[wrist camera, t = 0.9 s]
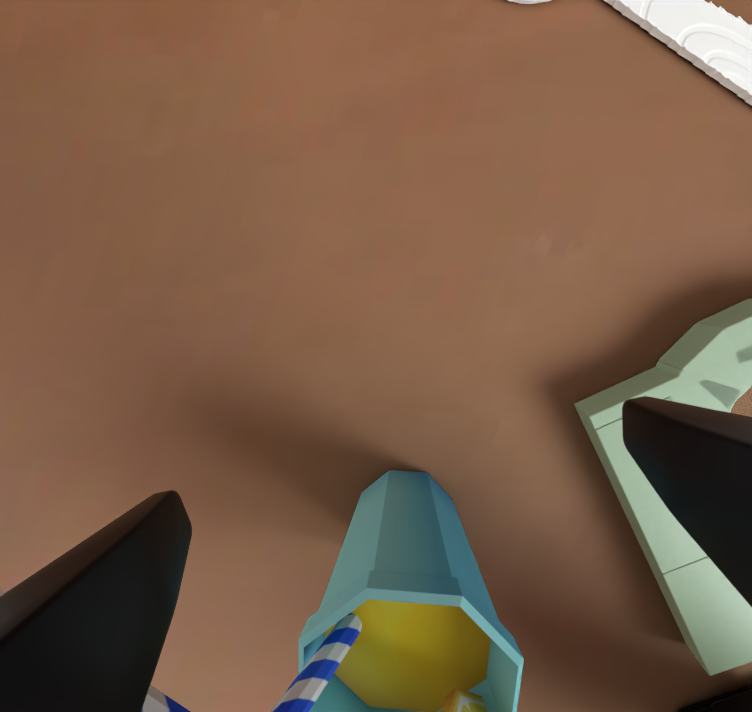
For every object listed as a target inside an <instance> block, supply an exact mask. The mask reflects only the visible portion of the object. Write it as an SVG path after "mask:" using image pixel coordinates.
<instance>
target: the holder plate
mask: <svg viewBox="0 0 752 712" xmlns="http://www.w3.org/2000/svg"><path fill="white" fill-rule="evenodd" d="M750 387H752V298H749V299H746V300H744V301H742V302H740V303H737V304H735V305H733V306H731V307H729V308H727V309H724V310H722V311H720V312H718V313H716V314H714V315H712V316H709V317H707V318H705V319H703V320H701V321H699V322H697V323H695V324H694V325H693V326H692V327H691V328H690V329H689V330H688V331H687V332H686V333H685V334H684V335H683V336H682V337H681V338H680V339H679V340H678V341H677V342H676V343H675V344H674V345H673V346H672V347H671V348H670V349H669V350H668V351H667V352H666V353H665V354H664V355H663V356H662V357H661V358H660V359H659V361H658V362H657V364H656V366H655V367H653V368H651V369H649V370H647V371H644V372H642V373H640V374H638V375H636V376H634V377H631V378H629V379H627V380H625V381H623V382H620V383H618V384H616V385H614V386H612V387H609V388H607V389H605V390H603V391H601V392H598V393H596V394H594V395H592V396H590V397H588V398H585V399H583V400H581V401H579V402H577V403H575V404H574V406H575V408H576V410H577V412H578V414H579V416H580V419H581V421H582V423H583V425H584V427H585V429H586V431H587V433H588V436H589V438H590V440H591V442H592V444H593V446H594V448H595V451H596V453H597V455H598V457H599V459H600V461H601V463H602V465H603V468H604V470H605V472H606V474H607V476H608V478H609V480H610V482H611V485H612V487H613V489H614V491H615V493H616V495H617V497H618V500H619V502H620V504H621V506H622V508H623V510H624V512H625V514H626V517H627V519H628V521H629V523H630V525H631V527H632V529H633V532H634V534H635V536H636V538H637V540H638V542H639V544H640V546H641V549H642V550H643V553H644V555H645V557H646V559H647V561H648V563H649V566H650V568H651V570H652V572H653V574H654V576H655V578H656V581H657V583H658V585H659V587H660V589H661V591H662V593H663V595H664V598H665V600H666V602H667V604H668V606H669V608H670V610H671V612H672V615H673V617H674V619H675V621H676V623H677V625H678V627H679V630H680V632H681V634H682V636H683V638H684V640H685V642H686V644H687V646H688V648H689V649H690V650H691V652H692V653H693V654H694V656H695V657H696V659H697V660H698V661H699V663H700V664H701V665H702V667H703V668H704V669H705V671H706V672H707V674H708V675H709V676H712V675H715V674H718V673H721V672H724V671H727V670H730V669H732V668H735V667H738V666H741V665H744V664H747V663H750V662H752V607H751V606H750V605H749V604H748V602H747V601H746V600H745V599H744V598H743V597H742V595H741V594H740V593H739V592H738V591H737V590H736V588H735V587H734V586H733V585H732V584H731V583H730V581H729V580H728V579H727V578H726V577H725V576H724V574H723V573H722V572H721V571H720V570H719V569H718V567H717V566H716V565H715V564H714V563H713V562H712V561H711V559H710V558H709V557H708V556H707V555H706V554H705V552H704V551H703V550H702V549H701V548H700V547H699V545H698V544H697V543H696V542H695V541H694V540H693V538H692V537H691V536H690V535H689V534H688V533H687V531H686V530H685V529H684V528H683V527H682V526H681V524H680V523H679V522H678V521H677V520H676V518H675V517H674V516H673V515H672V513H671V512H670V511H669V510H668V508H667V507H666V506H665V504H664V503H663V501H662V500H661V499H660V497H659V496H658V494H657V493H656V491H655V490H654V488H653V487H652V486H651V484H650V483H649V481H648V480H647V478H646V477H645V475H644V474H643V472H642V471H641V470H640V468H639V467H638V465H637V464H636V462H635V461H634V459H633V458H632V457H631V455H630V454H629V452H628V451H627V449H626V447H625V445H624V442H623V430H622V406H623V403H624V402H625V401H626V400H628V399H632V398H637V397H642V396H648V397H653V398H658V399H663V400H668V401H673V402H678V403H683V404H688V405H693V406H698V407H703V408H708V409H713V410H718V411H723V412H728V413H730V411H731V409H732V407H733V405H734V403H735V401H736V400H737V399H738V398H740V397H741V396H742V395H743V394H744V393H745V392H746V391H747V390H748V389H749V388H750Z"/></svg>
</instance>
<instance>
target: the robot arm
mask: <svg viewBox="0 0 752 712" xmlns="http://www.w3.org/2000/svg"><path fill="white" fill-rule="evenodd" d="M622 430H623V442H624V445H625V447H626V449H627V451H628V452H629V454H630V455H631V457H632V458H633V459H634V461H635V462H636V464H637V465H638V467H639V468H640V470H641V471H642V472H643V474H644V475H645V477H646V478H647V480H648V481H649V483H650V484H651V486H652V487H653V488H654V490H655V491H656V493H657V494H658V496H659V497H660V499H661V500H662V501H663V503H664V504H665V506H666V507H667V508H668V510H669V511H670V512H671V513H672V515H673V516H674V517H675V518H676V520H677V521H678V522H679V523H680V524H681V526H682V527H683V528H684V529H685V530H686V531H687V533H688V534H689V535H690V536H691V537H692V538H693V540H694V541H695V542H696V543H697V544H698V545H699V547H700V548H701V549H702V550H703V551H704V552H705V554H706V555H707V556H708V557H709V558H710V559H711V561H712V562H713V563H714V564H715V565H716V566H717V567H718V569H719V570H720V571H721V572H722V573H723V574H724V576H725V577H726V578H727V579H728V580H729V581H730V583H731V584H732V585H733V586H734V587H735V588H736V590H737V591H738V592H739V593H740V594H741V595H742V597H743V598H744V599H745V600H746V601H747V602H748V604H749V605H750V606H751V607H752V417H748V416H743V415H738V414H733V413H728V412H723V411H718V410H713V409H708V408H703V407H698V406H693V405H688V404H683V403H678V402H673V401H668V400H663V399H658V398H653V397H648V396H642V397H637V398H632V399H628V400H626V401H625V402H624V403H623V406H622ZM191 536H192V527H191V522H190V520H189V517H188V515H187V512H186V510H185V507H184V505H183V502H182V500H181V497H180V496H179V494H178V493H177V492H176V491H174V490H170V491H165V492H160V493H156V494H153V495H152V496H150V497H149V498H147V499H146V500H144V501H143V502H141V503H140V504H138V505H137V506H135V507H134V508H132V509H131V510H129V511H128V512H126V513H125V514H123V515H122V516H120V517H119V518H117V519H116V520H114V521H113V522H111V523H110V524H108V525H107V526H105V527H104V528H102V529H101V530H99V531H98V532H96V533H95V534H93V535H92V536H90V537H89V538H87V539H86V540H84V541H83V542H81V543H80V544H78V545H77V546H75V547H74V548H72V549H71V550H69V551H68V552H66V553H65V554H63V555H62V556H60V557H59V558H57V559H56V560H54V561H53V562H51V563H50V564H48V565H47V566H45V567H44V568H42V569H41V570H39V571H38V572H36V573H35V574H33V575H32V576H30V577H29V578H27V579H26V580H24V581H23V582H21V583H20V584H18V585H17V586H15V587H14V588H12V589H11V590H9V591H8V592H6V593H5V594H4V595H2V596H1V597H0V712H141V711H142V708H143V705H144V702H145V699H146V696H147V693H148V690H149V687H150V684H151V681H152V678H153V675H154V672H155V669H156V666H157V663H158V660H159V657H160V654H161V651H162V648H163V644H164V641H165V638H166V635H167V632H168V629H169V626H170V623H171V620H172V617H173V614H174V610H175V607H176V603H177V599H178V595H179V591H180V586H181V582H182V577H183V572H184V568H185V563H186V559H187V554H188V550H189V545H190V541H191ZM679 712H752V686H749V687H746V688H743V689H740V690H737V691H734V692H731V693H728V694H725V695H722V696H720V697H717V698H714V699H711V700H708V701H705V702H702V703H699V704H696V705H693V706H690V707H687V708H684V709H682V710H680V711H679Z"/></svg>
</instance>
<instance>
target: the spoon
mask: <svg viewBox="0 0 752 712" xmlns="http://www.w3.org/2000/svg"><path fill="white" fill-rule="evenodd" d="M508 1H509V2H510V1H511V2H512V1H514V2H515V3H516V2H517V3H519V4H520V3H521V4H522V3H523V4H526V3H527V4H530V3H531V4H536V3H539V2H540V3H543V2H544V1H545V2H546V1H547V2H548V1H550V0H508ZM604 1H605V2H607V3H609V4H610V5H612V6H613V8H615V9H616V10H618V11H620V12H621V13H622V15H624V16H626V17H627V18H629V19H630V20H632V21H634V22H635V23H637V24H639V25H640V27H641V28H643V29H645V30H646V31H648V32H649V34H651V35H652V36H654V37H655V38H657V39H659V40H660V41H662V42H664V43H665V44H667V46H668V47H670V48H671V49H673V50H674V51H676V52H677V54H679V55H680V56H682V57H684V58H685V59H687V60H689V61H690V62H692V63H693V65H695V66H696V67H698V68H699V69H701V70H703V71H704V72H705V74H707V75H709V76H710V77H712V78H714V79H715V80H717V81H718V82H719V83H720V84H721V85H723V86H725V87H726V88H728V89H729V90H731V91H733V92H734V93H736V94H737V96H739V97H740V98H742V99H744V100H745V102H746V103H748V104H750V105H751V106H752V24H751V25H749V24H747V23H746V22H745V21H744V20H743V19H741V17H740V16H739V17H737V18H736V17H734V16H733V15H732V14H730V13H727V12H726V11H725V10H724V9H723V8H721V6H720V7H718V8H717V7H716V6H715V5H714V4H713V3H712V1H711V2H710V3H707V2H706V1H704V0H604Z"/></svg>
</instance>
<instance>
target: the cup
mask: <svg viewBox="0 0 752 712" xmlns="http://www.w3.org/2000/svg"><path fill="white" fill-rule="evenodd" d="M523 662H524V658H523V656H522V654H521V652H520V650H519V648H518V645H517V643H516V641H515V639H514V637H513V635H512V634H511V633H510V632H509V631H508V630H507V629H506V628H505V627H504V626H503V625H502V624H501V623H500V622H499V619H498V616H497V614H496V611H495V609H494V606H493V604H492V601H491V598H490V596H489V593H488V591H487V588H486V585H485V583H484V580H483V578H482V575H481V572H480V570H479V567H478V565H477V562H476V560H475V557H474V554H473V552H472V549H471V547H470V544H469V541H468V539H467V536H466V534H465V531H464V528H463V526H462V523H461V521H460V518H459V515H458V513H457V510H456V508H455V505H454V503H453V500H452V498H451V497H450V496H449V495H448V494H447V493H446V492H445V491H444V490H443V489H442V488H441V487H440V486H439V484H438V483H437V482H436V481H435V480H434V479H433V478H432V477H431V476H430V475H429V474H428V473H427V472H412V471H398V470H389V471H387V472H386V473H385V474H384V475H382V476H381V477H380V478H379V479H378V480H376V481H375V482H374V483H373V484H371V485H370V486H369V487H368V488H366V489H365V490H364V491H363V492H362V493H361V496H360V498H359V501H358V504H357V507H356V509H355V512H354V515H353V518H352V520H351V523H350V526H349V529H348V531H347V534H346V537H345V540H344V542H343V545H342V548H341V551H340V553H339V556H338V559H337V562H336V564H335V567H334V570H333V573H332V575H331V578H330V581H329V584H328V586H327V589H326V592H325V595H324V597H323V600H322V603H321V606H320V609H319V610H318V611H317V612H315V613H314V614H313V615H311V616H310V617H309V618H308V620H307V622H306V624H305V626H304V629H303V631H302V633H301V635H300V638H299V656H298V676H297V678H296V679H295V680H294V682H293V683H292V684H291V686H290V687H289V688H288V690H287V691H286V692H285V694H284V695H283V696H282V698H281V699H280V700H279V702H278V703H277V704H276V706H275V707H274V708H273V710H272V711H271V712H517V706H518V698H519V691H520V684H521V677H522V669H523ZM141 712H190V711H188V710H187V709H186V708H184V707H183V706H181V705H180V704H178V703H177V702H175V701H174V700H172V699H171V698H169V697H168V696H166V695H165V694H163V693H162V692H160V691H159V690H157V689H156V688H154V687H153V686H151V685H150V687H149V690H148V693H147V696H146V699H145V702H144V705H143V708H142V711H141Z"/></svg>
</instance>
